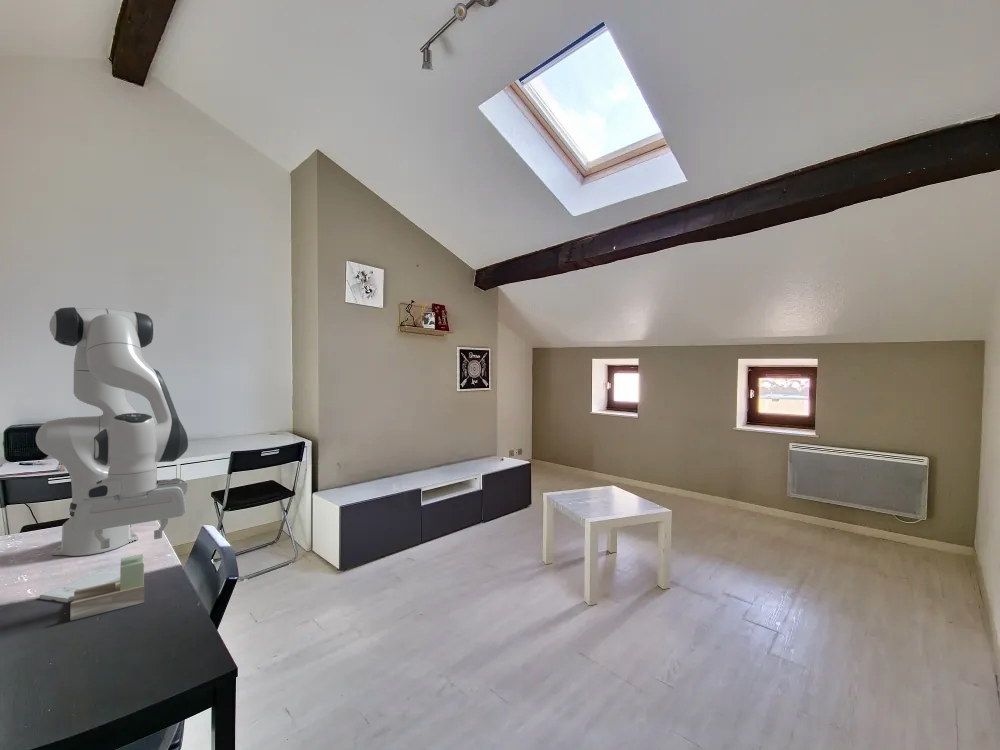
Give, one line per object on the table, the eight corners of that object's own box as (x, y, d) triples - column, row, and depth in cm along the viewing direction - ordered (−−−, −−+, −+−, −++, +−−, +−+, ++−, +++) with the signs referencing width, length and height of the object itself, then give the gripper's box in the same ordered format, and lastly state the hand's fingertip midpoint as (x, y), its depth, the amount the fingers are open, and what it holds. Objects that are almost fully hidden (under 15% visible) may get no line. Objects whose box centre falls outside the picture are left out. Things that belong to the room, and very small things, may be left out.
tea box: (120, 594, 99) (120, 567, 99) (120, 583, 104) (120, 558, 104) (143, 588, 102) (144, 562, 102) (143, 578, 107) (143, 553, 107)
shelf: (75, 598, 101) (75, 583, 101) (143, 583, 109) (143, 568, 109) (70, 621, 92) (70, 603, 92) (144, 602, 100) (144, 586, 100)
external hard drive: (124, 580, 112) (67, 605, 99) (98, 577, 113) (39, 601, 101) (124, 574, 112) (67, 597, 99) (98, 570, 113) (39, 593, 101)
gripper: (186, 475, 112) (185, 529, 112) (74, 487, 99) (73, 549, 99) (188, 479, 107) (188, 536, 107) (71, 492, 94) (71, 558, 94)
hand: (132, 542), depth 103 cm, fingers open, 8 cm apart
